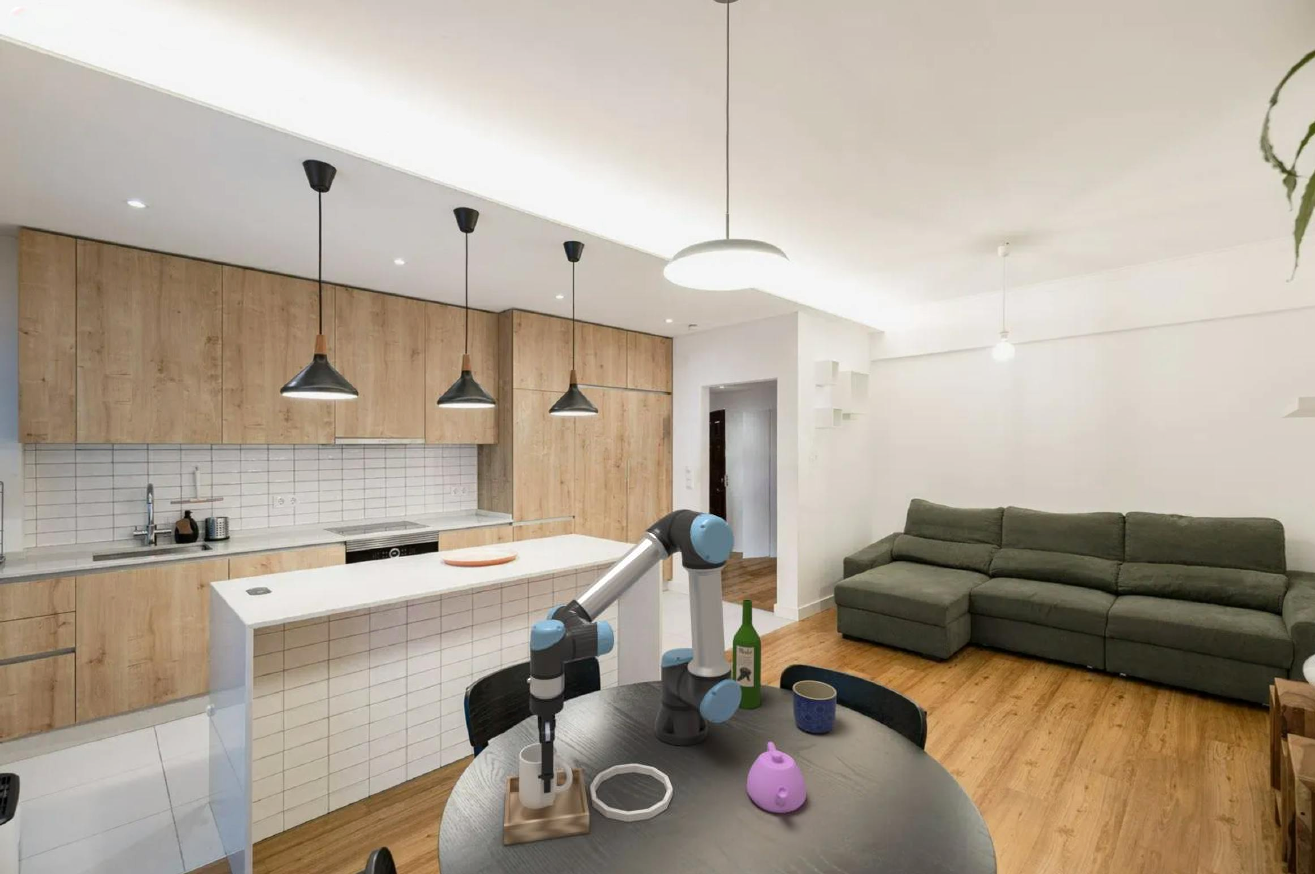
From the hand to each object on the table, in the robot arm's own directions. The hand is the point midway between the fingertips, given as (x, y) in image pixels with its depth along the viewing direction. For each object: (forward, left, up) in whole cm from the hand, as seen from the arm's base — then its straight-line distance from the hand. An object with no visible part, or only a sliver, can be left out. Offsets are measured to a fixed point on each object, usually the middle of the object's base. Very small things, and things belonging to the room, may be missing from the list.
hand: (545, 791), depth 131 cm
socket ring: (-20, -3, -5) cm, 21 cm away
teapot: (-53, +6, -5) cm, 54 cm away
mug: (0, +1, -1) cm, 2 cm away
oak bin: (0, 0, -5) cm, 5 cm away
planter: (-78, -23, -5) cm, 81 cm away
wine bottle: (-64, -41, -5) cm, 76 cm away
